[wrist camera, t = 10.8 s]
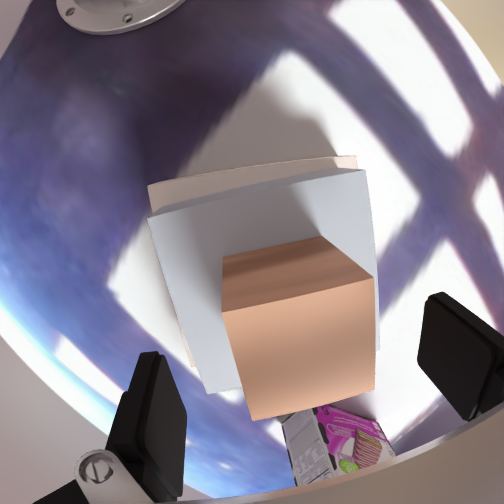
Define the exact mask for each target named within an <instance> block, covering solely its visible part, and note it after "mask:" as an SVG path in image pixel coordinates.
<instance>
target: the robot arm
mask: <svg viewBox="0 0 504 504" xmlns="http://www.w3.org/2000/svg"><path fill="white" fill-rule="evenodd" d="M185 1H186V0H56V5H57V8H58V11H59V14H60V15H61V17H62V18H63V19H64V21H65V22H67V23H68V24H69V25H70V26H71V27H73V28H75V29H77V30H79V31H80V32H84V33H88V34H92V35H112V34H120V33H124V32H128V31H132V30H136V29H138V28H141V27H143V26H146V25H149V24H151V23H153V22H155V21H157V20H159V19H161V18H162V17H164V16H166V15H167V14H169V13H170V12H172V11H173V10H175V9H176V8H178V7H179V6H180V5H181V4H182V3H183V2H185ZM129 21H130V22H129ZM417 362H418V365H419V366H420V368H421V369H422V370H423V371H424V372H425V374H426V375H427V376H428V377H429V378H430V380H431V381H432V382H433V383H434V384H435V386H436V387H437V388H438V389H439V390H440V392H441V393H442V394H443V395H444V397H445V398H446V399H447V400H448V401H449V403H450V404H451V405H452V406H453V407H454V409H455V410H456V411H457V412H458V414H459V415H460V416H461V418H462V419H463V420H465V421H468V423H467V424H465V425H463V426H461V427H459V428H457V429H455V430H453V431H451V432H450V433H447V434H445V435H444V436H442V437H439V438H437V439H435V440H433V441H431V442H429V443H427V444H424V445H422V446H420V447H418V448H415V449H413V450H411V451H408V452H406V453H403V454H401V455H399V456H396V457H393V458H391V459H388V460H386V461H383V462H380V463H377V464H374V465H372V466H369V467H366V468H363V469H360V470H357V471H353V472H350V473H347V474H343V475H340V476H336V477H333V478H329V479H325V480H322V481H318V482H314V483H309V484H305V485H301V486H296V487H291V488H286V489H281V490H276V491H270V492H264V493H257V494H250V495H243V496H235V497H227V498H217V499H204V500H190V501H178V502H177V497H181V496H182V492H183V474H184V457H185V441H186V428H187V413H186V409H185V407H184V404H183V402H182V400H181V397H180V395H179V392H178V389H177V387H176V384H175V382H174V379H173V376H172V374H171V371H170V368H169V366H168V363H167V360H166V358H165V356H164V355H160V354H159V353H158V352H157V351H153V352H144V353H141V354H140V356H139V359H138V362H137V364H136V367H135V370H134V373H133V376H132V380H131V383H130V386H129V389H128V391H125V392H124V393H123V394H122V396H121V399H120V402H119V405H118V408H117V411H116V415H115V418H114V421H113V424H112V427H111V431H110V434H109V437H108V441H107V444H106V447H105V450H102V449H99V450H92V451H90V452H87V453H86V454H84V455H83V456H81V457H80V459H79V460H78V461H77V463H76V465H75V468H74V474H75V478H76V479H75V480H73V481H71V482H69V483H68V484H66V485H64V486H63V487H61V488H59V489H57V490H56V491H54V492H52V493H50V494H48V495H47V496H45V497H43V498H41V499H39V500H38V501H36V502H34V503H33V504H504V336H502V335H501V334H500V333H499V332H497V331H496V330H495V329H493V328H492V327H491V326H490V325H488V324H487V323H486V322H484V321H483V320H482V319H480V318H479V317H478V316H476V315H475V314H474V313H472V312H471V311H470V310H468V309H467V308H466V307H464V306H463V305H461V304H460V303H459V302H457V301H456V300H455V299H453V298H452V297H450V296H449V295H448V294H446V293H445V292H439V293H436V294H433V295H430V296H429V297H428V300H427V301H426V302H425V306H424V315H423V323H422V330H421V337H420V344H419V350H418V356H417Z"/></svg>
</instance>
